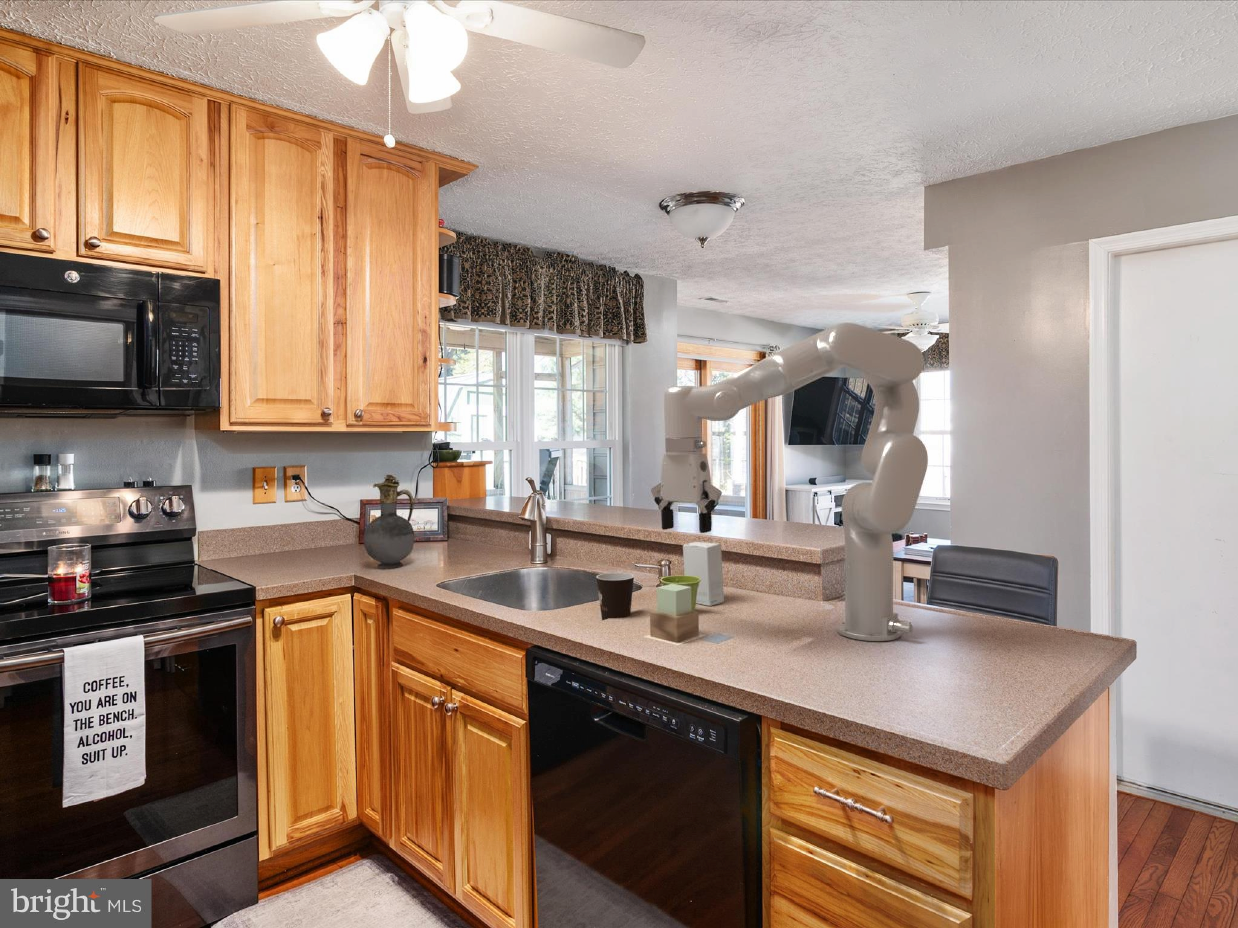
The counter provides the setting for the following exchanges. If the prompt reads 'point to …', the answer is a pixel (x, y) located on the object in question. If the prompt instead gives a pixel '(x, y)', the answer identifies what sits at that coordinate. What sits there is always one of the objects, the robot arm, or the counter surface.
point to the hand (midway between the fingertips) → (686, 530)
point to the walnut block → (674, 626)
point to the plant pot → (684, 584)
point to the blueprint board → (714, 638)
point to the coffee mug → (615, 594)
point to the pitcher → (390, 528)
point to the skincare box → (705, 570)
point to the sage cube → (674, 599)
